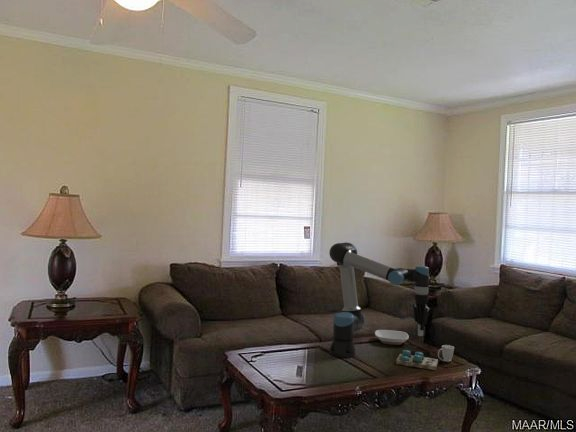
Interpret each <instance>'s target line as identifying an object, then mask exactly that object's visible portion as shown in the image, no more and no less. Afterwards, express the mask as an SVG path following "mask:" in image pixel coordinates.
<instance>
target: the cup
mask: <svg viewBox="0 0 576 432" xmlns="http://www.w3.org/2000/svg"><path fill="white" fill-rule="evenodd" d="M441 351H442V352H441ZM454 351H455V347H454V346H453V345H450V344H443V345H441V348H439V349H438V352H437V357H438V359H439V360H441V361H443V362H447V363H450V361H451V362H452V359H453V357H454ZM440 352H441V353H442V357H443V359H442V358H441V357H440Z"/></svg>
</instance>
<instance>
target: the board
mask: <svg viewBox="0 0 576 432" xmlns="http://www.w3.org/2000/svg"><path fill="white" fill-rule="evenodd" d="M401 356H402V353H399V355H398V356H397V358H396V360H395V364H396V365H401V366H407V367H412V368H413V367H415V368H420V369H425V370H431V371H436V370H437V367H438V364H439V358H432V357H425V356H423V359H422V362H421V363H416V362H414V361H413V357H414V355H413V354H410V357H409V362H408V361H401V360H400V359H401Z"/></svg>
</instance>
